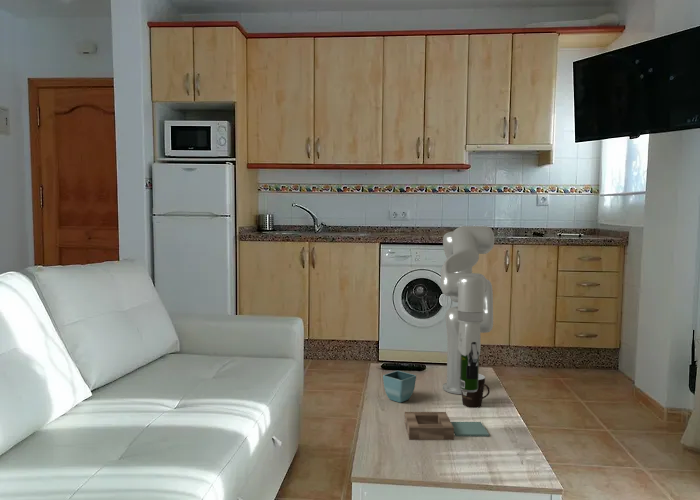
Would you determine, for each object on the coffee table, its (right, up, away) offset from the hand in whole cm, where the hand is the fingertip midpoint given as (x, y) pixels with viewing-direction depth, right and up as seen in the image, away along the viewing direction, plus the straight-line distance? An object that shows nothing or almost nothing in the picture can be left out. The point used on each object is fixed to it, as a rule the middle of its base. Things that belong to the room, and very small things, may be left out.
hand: (469, 375), depth 161 cm
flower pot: (-19, -16, +28) cm, 37 cm away
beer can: (0, -5, 0) cm, 5 cm away
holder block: (-13, -17, 0) cm, 21 cm away
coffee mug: (+6, -16, +22) cm, 28 cm away
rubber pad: (0, -17, +1) cm, 17 cm away
